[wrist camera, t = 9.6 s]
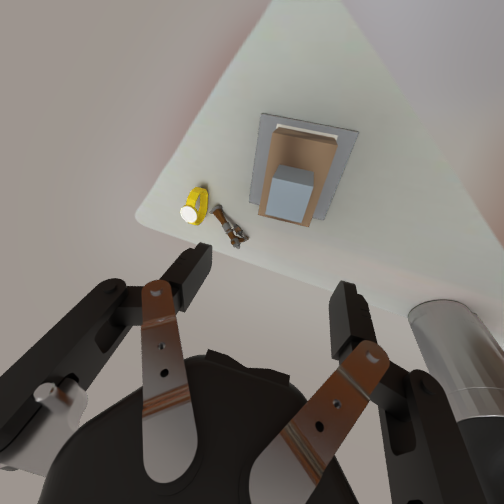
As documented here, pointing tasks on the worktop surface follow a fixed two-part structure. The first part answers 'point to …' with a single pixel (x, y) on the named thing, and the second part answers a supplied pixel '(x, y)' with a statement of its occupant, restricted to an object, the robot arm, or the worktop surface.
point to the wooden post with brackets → (229, 227)
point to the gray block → (290, 193)
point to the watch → (189, 210)
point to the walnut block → (299, 164)
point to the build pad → (341, 135)
